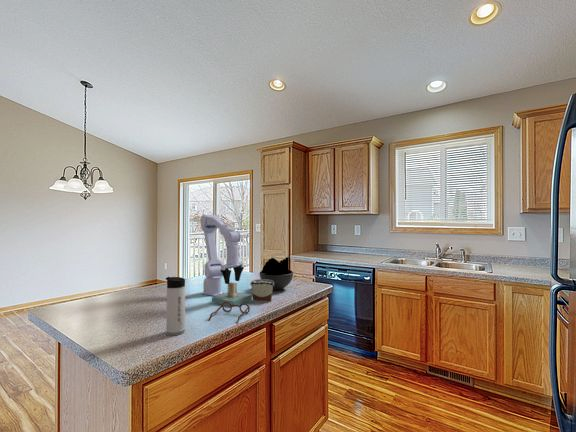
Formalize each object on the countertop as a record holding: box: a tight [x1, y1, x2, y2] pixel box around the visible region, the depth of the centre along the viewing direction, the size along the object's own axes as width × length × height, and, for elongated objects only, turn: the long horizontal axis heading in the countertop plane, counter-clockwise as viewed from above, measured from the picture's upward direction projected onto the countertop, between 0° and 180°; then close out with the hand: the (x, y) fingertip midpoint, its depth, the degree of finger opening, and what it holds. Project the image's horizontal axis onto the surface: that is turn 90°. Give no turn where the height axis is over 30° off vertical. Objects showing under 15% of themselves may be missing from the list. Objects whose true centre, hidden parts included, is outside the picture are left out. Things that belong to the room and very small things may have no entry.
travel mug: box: [165, 276, 186, 337], centre depth 104 cm, size 6×7×20 cm
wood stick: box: [227, 281, 238, 298], centre depth 144 cm, size 4×2×9 cm, turn 60°
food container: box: [249, 278, 274, 303], centre depth 147 cm, size 12×6×10 cm, turn 84°
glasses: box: [208, 302, 251, 325], centre depth 120 cm, size 13×13×5 cm
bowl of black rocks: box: [259, 256, 294, 291], centre depth 169 cm, size 20×20×19 cm
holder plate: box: [211, 291, 253, 308], centre depth 144 cm, size 14×14×2 cm
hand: (232, 282), depth 144 cm, fingers open, 7 cm apart
